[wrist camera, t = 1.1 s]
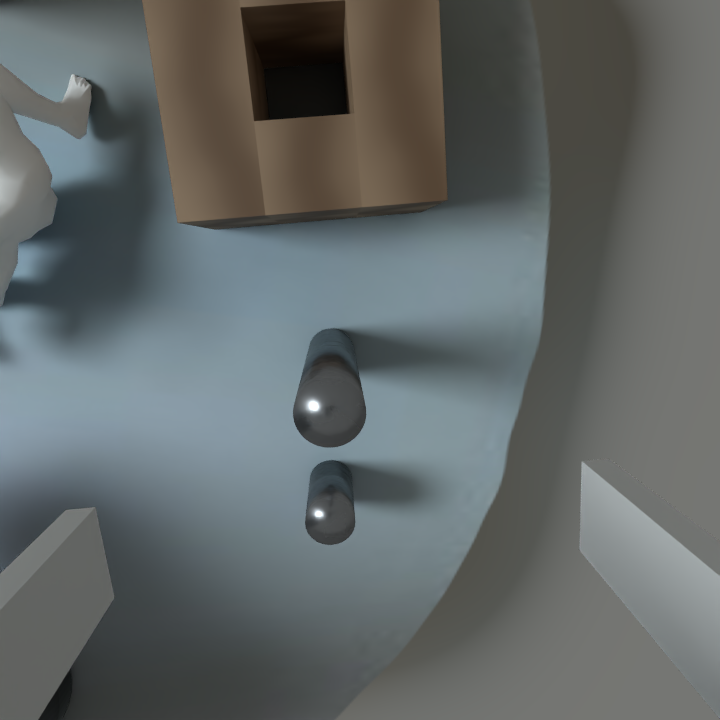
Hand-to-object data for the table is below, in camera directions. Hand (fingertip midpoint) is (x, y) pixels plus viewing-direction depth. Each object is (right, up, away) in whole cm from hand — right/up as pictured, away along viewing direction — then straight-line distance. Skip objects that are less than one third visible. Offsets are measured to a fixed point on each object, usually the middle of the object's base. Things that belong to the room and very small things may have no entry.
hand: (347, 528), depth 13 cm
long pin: (-2, +5, +22) cm, 23 cm away
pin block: (-3, +21, +18) cm, 28 cm away
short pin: (-2, -5, +24) cm, 25 cm away
